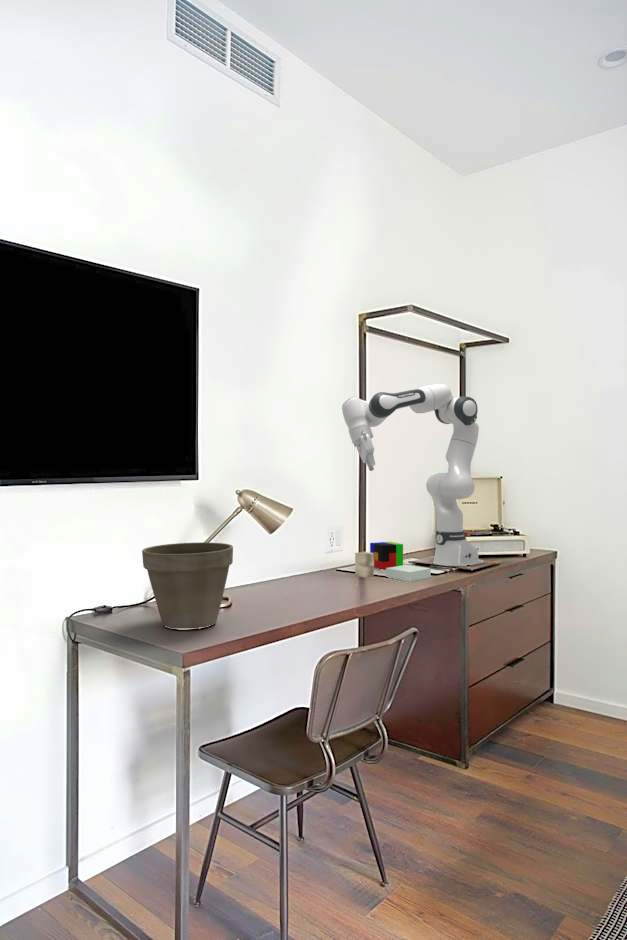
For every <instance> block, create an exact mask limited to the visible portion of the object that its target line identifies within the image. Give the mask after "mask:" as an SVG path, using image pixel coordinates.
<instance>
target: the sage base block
mask: <svg viewBox="0 0 627 940" xmlns="http://www.w3.org/2000/svg"><path fill="white" fill-rule="evenodd" d="M431 572H432V570H431V568H430V567H424V566H417V565H409V564H403V565H402V566H396V567H390V568H386V570H385V577H388V578H387V579H392V578H393V579H392V580H397V579H399V580H398V581H402V582H403V581H404V582H410V583H411V582H416V581H422V580H426V579H431V578H432V577H431V576H432V575H431Z"/></svg>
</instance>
